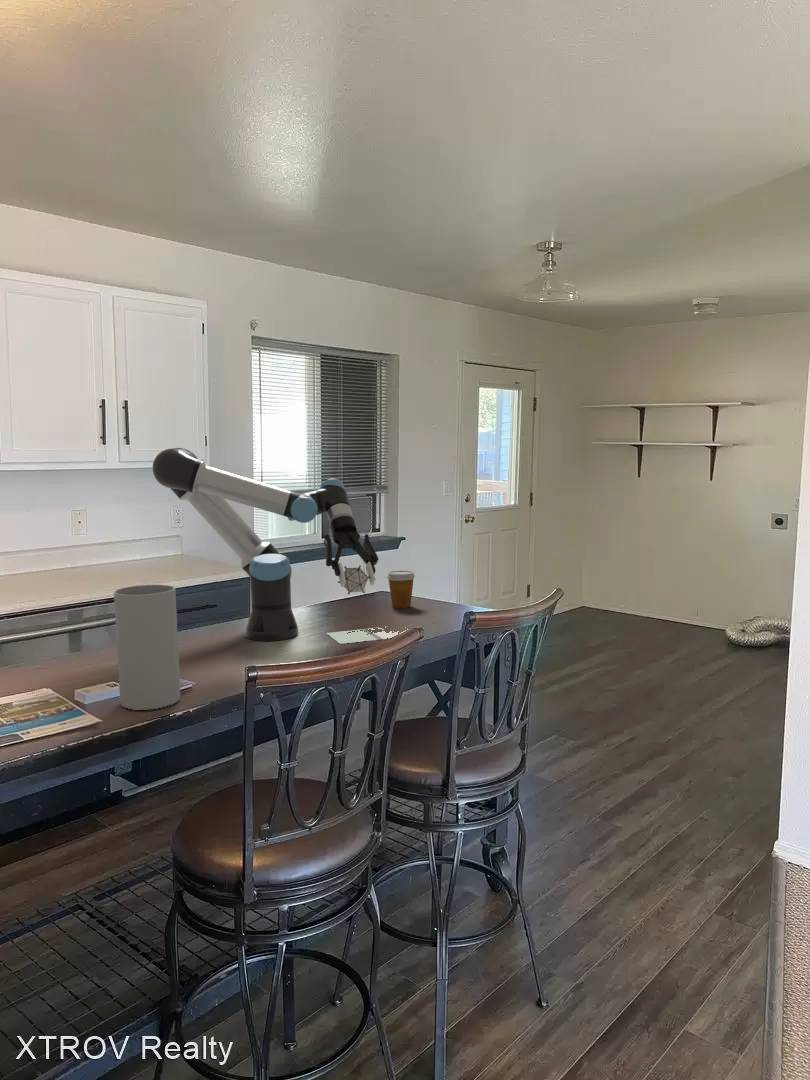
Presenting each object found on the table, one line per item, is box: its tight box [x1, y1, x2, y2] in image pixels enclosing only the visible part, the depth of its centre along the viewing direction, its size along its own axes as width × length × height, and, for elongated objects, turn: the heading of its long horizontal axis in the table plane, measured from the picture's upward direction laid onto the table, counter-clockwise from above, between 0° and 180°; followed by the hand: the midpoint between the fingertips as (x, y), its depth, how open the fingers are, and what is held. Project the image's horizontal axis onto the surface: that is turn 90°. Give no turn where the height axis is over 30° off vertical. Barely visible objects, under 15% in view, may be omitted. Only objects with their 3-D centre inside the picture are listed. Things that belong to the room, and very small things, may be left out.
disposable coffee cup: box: [386, 570, 416, 609], centre depth 269 cm, size 10×10×12 cm
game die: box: [337, 565, 370, 595], centre depth 227 cm, size 9×8×10 cm
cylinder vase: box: [113, 584, 181, 710], centre depth 169 cm, size 12×12×25 cm
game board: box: [325, 626, 408, 645], centre depth 230 cm, size 24×14×1 cm, turn 112°
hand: (358, 583), depth 224 cm, fingers closed on game die, 8 cm apart
